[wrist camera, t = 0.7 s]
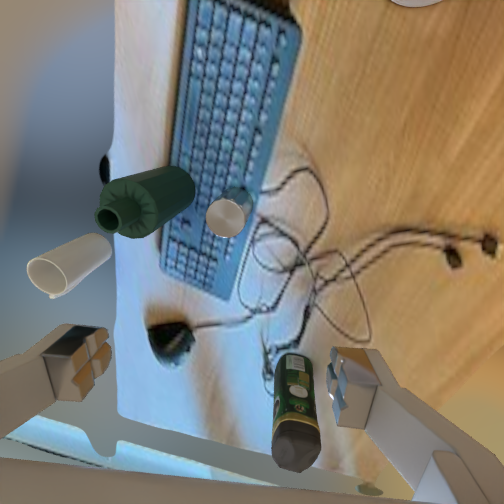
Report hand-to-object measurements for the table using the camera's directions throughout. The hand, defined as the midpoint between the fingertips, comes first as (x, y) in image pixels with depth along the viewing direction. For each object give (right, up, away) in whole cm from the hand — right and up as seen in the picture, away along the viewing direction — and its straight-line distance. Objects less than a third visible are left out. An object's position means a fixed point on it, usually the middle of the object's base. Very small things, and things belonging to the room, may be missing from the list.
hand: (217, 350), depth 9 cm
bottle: (-12, +15, +35) cm, 40 cm away
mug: (-30, +3, +43) cm, 53 cm away
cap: (-1, +12, +34) cm, 36 cm away
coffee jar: (+11, -23, +49) cm, 55 cm away
